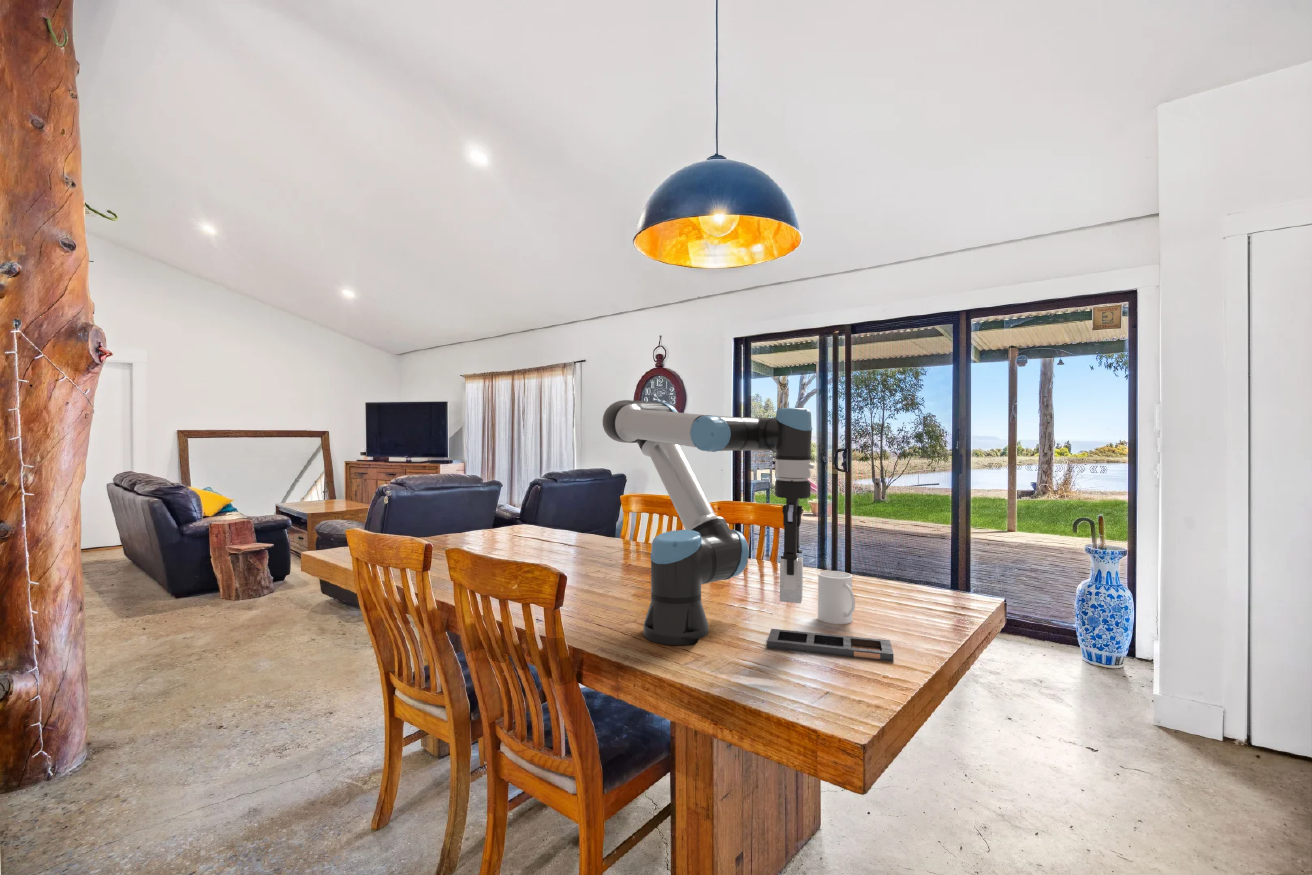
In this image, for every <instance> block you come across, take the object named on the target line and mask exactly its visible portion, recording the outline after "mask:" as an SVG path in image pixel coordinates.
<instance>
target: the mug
mask: <svg viewBox="0 0 1312 875" xmlns="http://www.w3.org/2000/svg"><path fill="white" fill-rule="evenodd" d="M817 574H818V575H817V576H818V577H817V579H818V583H817V591H818V592H817V593H818V594H817V596H818V597H817V600H818V601H817V607H818V609H817V620H819V621H821V622H824V623H827V624H831V625H834V624H835V625H848V624H851V623H853V622H854V620H853V613H854V611H855V608H856V598H855V594H854V591H853V575H852V574H851V573H848V572H844V571H841V570H840V571H838V570H824V571H819V572H818V573H817Z"/></svg>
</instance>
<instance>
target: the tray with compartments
mask: <svg viewBox="0 0 1312 875" xmlns="http://www.w3.org/2000/svg"><path fill="white" fill-rule="evenodd" d="M766 648H767V649H770V650H772V649H773V650H781V651H789V652H798V653H799V652H800V653H807V654H808V653H809V654H815V655H816V654H818V655H825V656H826V655H827V656H835V657H837V656H838V657H845V658H853V659H854V658H855V659H863V660H873V661H880V662H888V663H889V662H891V663H893V662H894V651H893V647H892V644H891V640H890V639H880V638H879V639H878V638H869V637H862V636H861V637H860V636H850V635H849V636H848V635H839V634H830V633H820V632H818V633H817V632H809V631H800V630H792V629H791V630H790V629H780V628H779V629H778V628H771V629H770V631H769V635H768V638H767V640H766Z"/></svg>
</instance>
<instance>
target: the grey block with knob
mask: <svg viewBox="0 0 1312 875" xmlns="http://www.w3.org/2000/svg"><path fill="white" fill-rule="evenodd" d="M779 559H780V560H779V562H780V564H779V602H782V603H783V602H784V603H790V604H791V603H794V604H802V602H803V590H804V589H803V587H804V586H803V585H804V584H803V582H804V581H803V578H804V577H803V576H804V572H803V571H804V557H803V556H799V557H798V556H797V590H786V589H784V559H781V558H779Z"/></svg>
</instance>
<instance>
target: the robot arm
mask: <svg viewBox="0 0 1312 875" xmlns="http://www.w3.org/2000/svg"><path fill="white" fill-rule="evenodd" d="M775 414H776V415H775V417H748V416H746V417H745V416H743V417H741V416H723V415H722V416H720V415H710V414H698V413H697V414H696V413H688V412H686V413H685V412H679V411H678V410H677V409H676V407H674V406H673V405H672V404H670V403H667V402H662V401H659V400H653V401H652V400H651V401H647V400H646V401H644V400H643V401H642V400H632V399H631V400H630V399H623V400H618V401H615V402H613V403H611V404H610V405H609V406H608V407H606V409H605V411H604V413H603V415H602V427H603V430H604V432H605V434H606V435H607V436H608V437H609V438H611V439H612V440H613V441H615V442H619V443H623V444H624V443H626V444H627V443H629V444H631V443H632V444H633V443H636V444H637V445H638V447H639V449H640V451H641V453H642V454H643V455H644V456H647V457H650V459H651V461H652V463H653V465H654V467H655V469H656V471H657V474H658V476H659V477H660V480H661V483H662V484H663V486H664V488H665V490H666V492H667V495H668V496H669V498H670V501H671V503H672V505H673V507H674V509H675V511H676V512H677V514H678V517H679V519H680V522H681V523H682V525H683V527H684V529H678V530H670V531H666V532H663V533H660V534H658V535H656V536H655V537H654V538H653V540H652V542H651V552H650V557H649V558H650V573H651V574H650V576H651V577H650V582H651V583H650V603H649V606H648V609H647V612H646V616H645V619H644V622H643V636H644V638H646V639H647V640H648V641H650V642H653V643H657V644H661V645H669V646H686V645H694V644H697V643H698V642H699V640H701V639H702V638H705V637H706V636H707V635H708V634H709V631H710V630H709V629H710V627H709V622H708V619H707V616H706V613H705V609H704V606H703V604H702V603H703V602H702V585H705V584H706V585H707V584H710V583H714V582H720V581H726V580H730V579H732V578H734V577H737V576H739V575H741V574H742V573H743V572H744V571H745V569H746V567H747V565H748V560H749V556H750V548H749V543H748V542H747V540H746V537H745V536H744V535H743V534H742V533H741V532H740V531H738V530H735V529H733V528H732V529H731V528H730V527H729V525H728V523H727V521H726V519H725V518H724V517H722V516H718V515H716V513H715V511H714V509H713V507H712V505H711V503H710V501H709V500H708V498H707V495H706V494H705V492H704V489H703V488H702V486H701V484H700V481H699V480H698V478H697V475H696V474H695V472H694V470H693V469H692V466H691V465H690V462H689V461H688V458H687V457H686V455H685V453H684V451H683V449H682V447H681V446H684V447H691V448H697V450H700V451H703V452H712V453H715V452H725V451H726V452H727V451H729V452H730V451H731V452H732V451H734V452H735V451H739V452H741V451H743V452H747V451H748V452H749V451H752V452H753V451H759V452H760V451H764V452H766V451H767V452H770V451H772V452H775V459H774V464H775V465H774V476H775V478H776V480H775V481H774V486H775V487H774V492H775V493H774V495H775V496H776V497H777V498H780V499H786V501H785V504H783V506H782V511H781V512H782V515H783V517H782V519H783V522H782V523H783V554H782V555H781V556H780V559H784V589H786V590H797V556H798V557H800V554H803V549H800V547H801V546H800V527H801V523H802V513H803V505H801V504H799V503H800V502H799V501H800V500H803V499H809V498H810V497H811V496H812V495H811V494H812V493H811V489H812V488H811V485H812V483H811V481H810V480H808V479H810V478H811V477H812V476H811V475H812V474H811V473H812V471H811V469H812V470H813V469H814V468H815V466H814V464H812V462H811V461H812V456H811V454H812V433H813V432H812V431H813V426H812V425H813V424H812V412H811V411H810V409H808V408H805V407H804V408H802V407H781V408H778V409H777V410H776V412H775ZM799 499H800V500H799Z"/></svg>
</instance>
